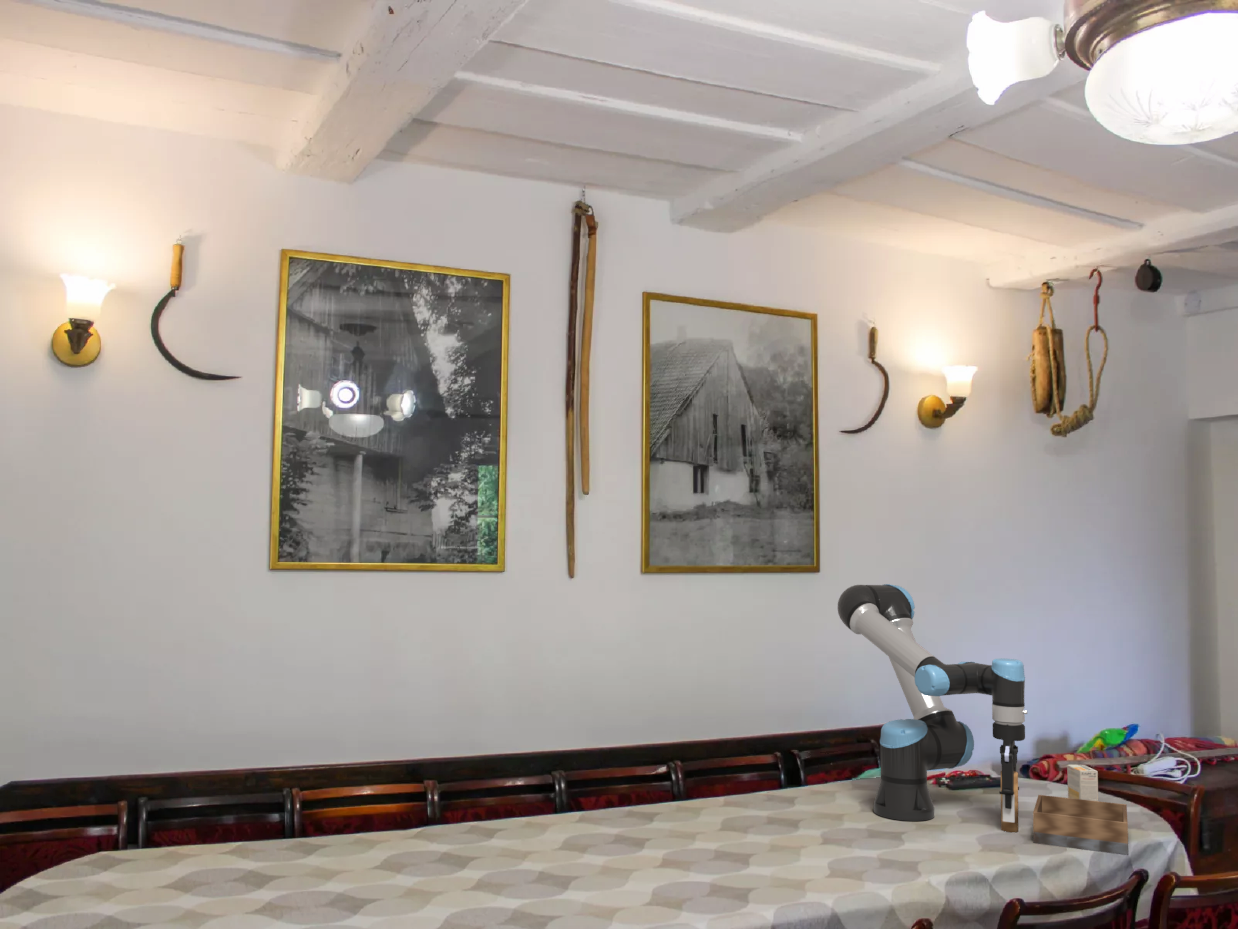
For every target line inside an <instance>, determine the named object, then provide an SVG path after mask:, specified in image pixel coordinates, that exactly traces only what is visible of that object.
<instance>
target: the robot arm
mask: <svg viewBox="0 0 1238 929" xmlns="http://www.w3.org/2000/svg"><path fill="white" fill-rule="evenodd" d="M915 608H916V606H915V601H914V599H913V597H912V594H911V593H910V592H909V591H908V590H907V589H905V587H902V586H900V585H894V584H890V583H889V584H888V583H885V584H856V585H855V584H854V585H851V586H850V587H848V588H846V589H845V590H844V591H843V592H842V593H841V594H840V596H839V598H838V601H837V614H838V616H839V619H840V620H841V622H842V623H843V624H844V625H845V626H846V627H847V628H848V629H849V630H850V631H851V632H852V633H854V634H856V635H862V636H863V637H864V638H866V639H867V640H868V641H869V642H871V643H872V644H873V645H874V646H875V647H877V648H878V649H879V650H880V651H881V652H883V653H884V654H885V655H886V656H888V658H889V661H890V662H891V666H892V668H893V671H894V673H895V675H896V678H897V679H898V683H899V685H900V687H901V690H902V692H903V695H904V697H905V699H906V702H907V704H908V707H909V709H910V711H911V713H912V716H913V718H906V719H901V718H900V719H894V720H890V721H888V722H886V723H884V724H883V725H882V727H881V729H880V738H879V744H880V781H879V786H878V789H877V791H876V794H875V798H874V801H873V812H874V814H875V815H878V816H880V817H882V818H887V819H891V820H897V821H907V822H918V821H919V822H921V821H927V820H932V819H933V818H935V807H934V806H935V805H934V803H933V800H932V797H931V793H930V790H929V787H928V771H934V770H935V771H936V770H945V769H956V768H959V767H962V766H964V765H966V764H967V763H969V761H970V760H971V759H972V756H973V751H974V750H975V740H974V739H975V738H974V735H973V733H972V731H971V729H970V727H969V726H968V725H967V724H966V723H964V722H962V721H961V720H960V721H957V719H956V716H955V714H954V712H953V710H952V709H950V708H947V707H945V705H944V702H943V701H942V698H941V696H952V695H953V696H954V695H968V694H969V695H970V694H981V695H985V696H986V695H987V696H991V697H992V698H991V699H992V701H991V702H992V703H991V706H992V707H991V710H992V711H991V715H992V720H993V721H994V722H993V723H992V737H993V738H994V739H996V740H1002V744H1000V747H999V753H1000V765H1001V771H1002V790H1001V789H1000V791H999V792H998V793H999V795H1001V794H1002V797H1003V821H1005V822H1013V823H1015V795H1014V771H1015V772H1017V763H1018V752H1019V746H1017V745H1016V743H1015V742H1021V741H1024V740H1025V739H1026V726H1025V724H1023V723H1024V722H1025V721H1026V720H1025V717H1026V716H1025V715H1028V710H1027V709H1025V686H1026V685H1025V683H1026V682H1025V681H1026V675H1025V668H1024V666H1025V665H1024V663H1023V661H1021V660H1019V659H1015V658H994V659H993V660H992V662H991V664H984V663H978V662H974V661H959V662H958V663H956V664H955V663H952V664H946V663H944V662H942V661H941V660H940V659H938V658H937V657H936V656H934V655H933V654H932V653H930V652H929V651H928V650H927V649H925V648H924V647H923V646H921V645H920V644H919V643H918V642H917V641H916V639H915V636H914V634H913V631H912V627H913V624H914V620H913V619H914V616H915V613H916V612H915V611H914V610H915ZM1001 791H1002V792H1001ZM1018 791H1020V786H1018Z"/></svg>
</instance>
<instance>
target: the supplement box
mask: <svg viewBox="0 0 1238 929" xmlns="http://www.w3.org/2000/svg"><path fill="white" fill-rule="evenodd" d="M1066 766H1067V767H1066V768H1067V769H1066V770H1067V772H1066V773H1067V774H1066V775H1067V798H1073V799H1082V800H1091V801H1099V777H1098V776H1099V773H1098V770H1096V769H1094V768H1091V767H1089V766H1087V765H1085V764H1067V765H1066Z"/></svg>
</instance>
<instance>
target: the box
mask: <svg viewBox="0 0 1238 929" xmlns="http://www.w3.org/2000/svg"><path fill="white" fill-rule="evenodd" d="M1032 814H1033V815H1032V820H1033V825H1032V826H1033V827H1032V830H1033V831H1032V834H1033V837H1032V838H1033V839H1032V841H1033V843H1034V844H1040V845H1041V844H1043V845H1047V846H1048V845H1049V846H1056V847H1057V846H1058V847H1062V848H1071V849H1079V850H1087V851H1094V852H1102V853H1111V854H1117V855H1125V856H1128V855H1129V827H1128V826H1129V825H1128V823H1129V822H1128V806H1127V804H1125V803H1117V802H1107V801H1099V800H1098V801H1091V800H1082V799H1073V798H1068V797H1062V796H1054V795H1046V794H1038V796H1037V800H1036V803H1035V804H1034V809H1033V811H1032Z"/></svg>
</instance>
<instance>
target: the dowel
mask: <svg viewBox="0 0 1238 929" xmlns="http://www.w3.org/2000/svg"><path fill="white" fill-rule="evenodd" d="M1018 787H1019V772H1017V771H1016V772H1015V771H1014V795H1015V823H1013V822H1005V821H1003V797H1002V794H1000V821H1001V822H1000V830H1001V831H1002V832H1005V831H1006V832H1005V833H1012V832H1015V833H1018V832H1019V790H1018ZM1001 790H1002V770H1000V791H1001ZM1001 792H1002V791H1001Z"/></svg>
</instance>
